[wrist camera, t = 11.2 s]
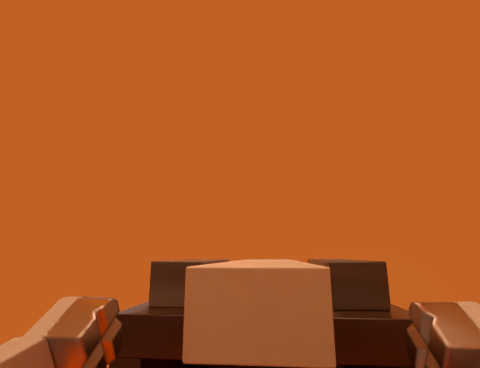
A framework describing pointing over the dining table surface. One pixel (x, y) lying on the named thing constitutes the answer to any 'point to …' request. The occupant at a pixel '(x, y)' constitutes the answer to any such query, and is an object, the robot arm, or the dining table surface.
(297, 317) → the cream rectangular block
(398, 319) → the walnut shelf
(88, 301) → the robot arm
